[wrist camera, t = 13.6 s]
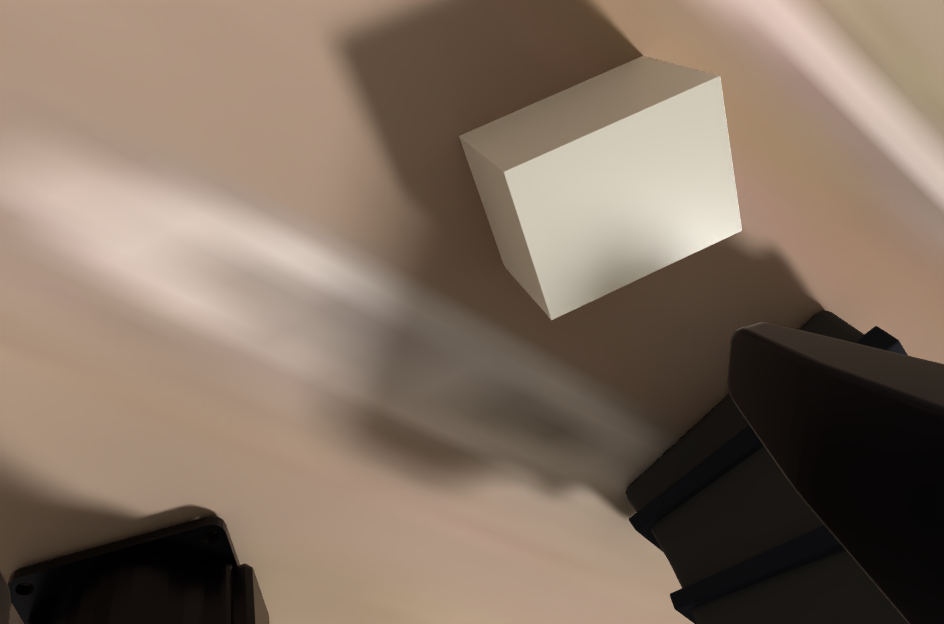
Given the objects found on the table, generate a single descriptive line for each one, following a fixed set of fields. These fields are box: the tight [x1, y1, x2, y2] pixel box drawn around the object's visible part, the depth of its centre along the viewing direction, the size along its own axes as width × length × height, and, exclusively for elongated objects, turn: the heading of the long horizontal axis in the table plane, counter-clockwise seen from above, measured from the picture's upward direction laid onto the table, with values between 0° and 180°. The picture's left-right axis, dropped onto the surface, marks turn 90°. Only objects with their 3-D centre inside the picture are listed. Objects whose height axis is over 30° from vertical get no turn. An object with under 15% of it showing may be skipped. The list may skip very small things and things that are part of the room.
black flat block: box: [626, 310, 909, 624], centre depth 25 cm, size 4×13×15 cm, turn 131°
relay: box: [459, 56, 742, 320], centre depth 21 cm, size 6×4×4 cm
